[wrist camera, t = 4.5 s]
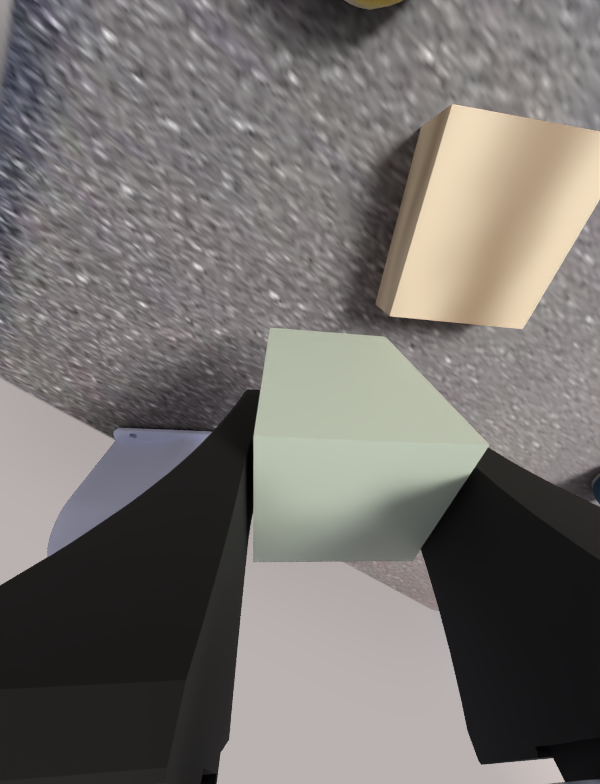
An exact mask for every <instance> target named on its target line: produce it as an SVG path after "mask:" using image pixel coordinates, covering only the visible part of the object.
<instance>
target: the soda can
mask: <svg viewBox="0 0 600 784" xmlns="http://www.w3.org/2000/svg"><path fill="white" fill-rule="evenodd" d="M591 486H592V489H593V492H594V495H595V498H596V500H597V501H598V503H599V504H600V473H599V474H598V475H597V476H596V477H595V478H594V479H593V481H592V484H591Z"/></svg>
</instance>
